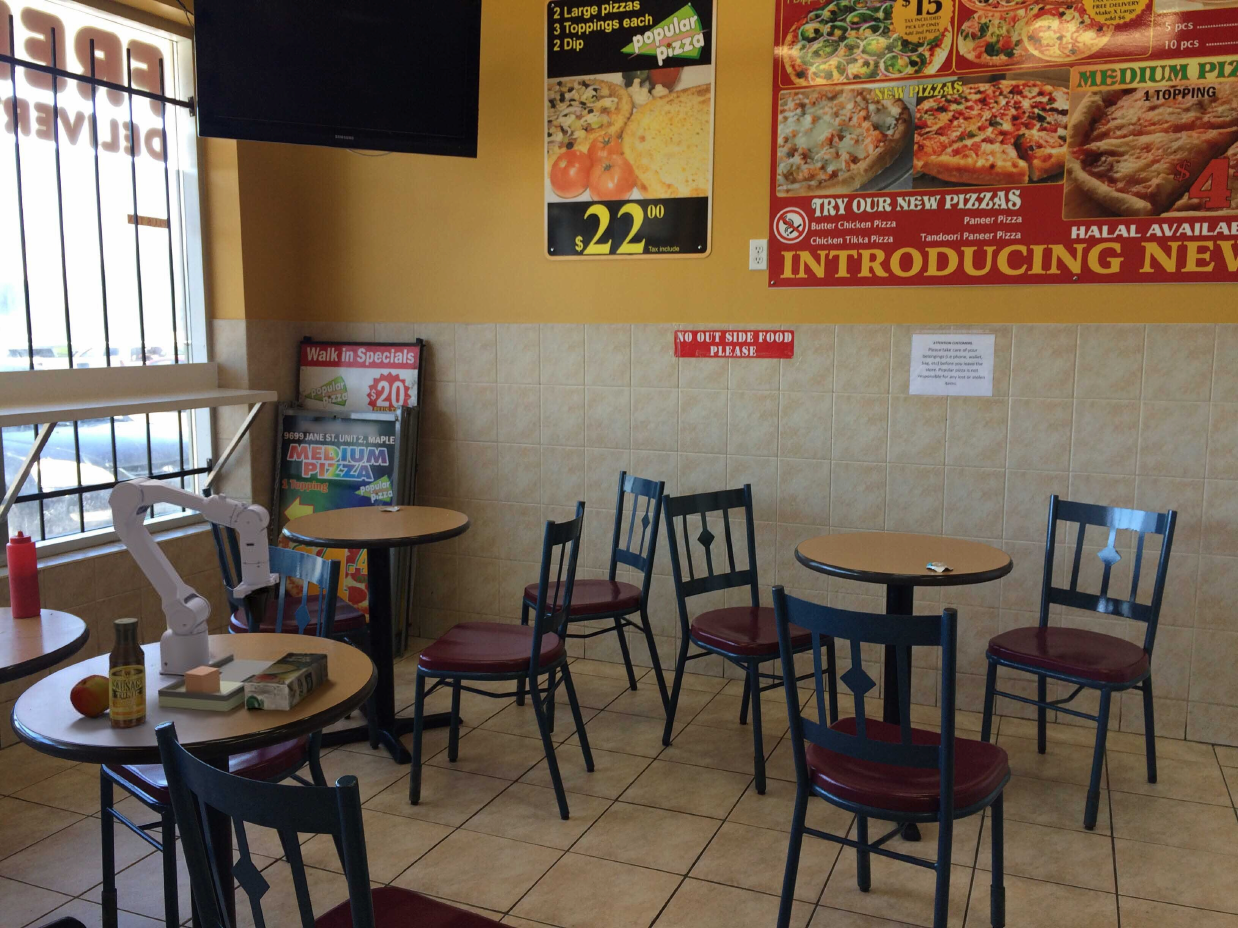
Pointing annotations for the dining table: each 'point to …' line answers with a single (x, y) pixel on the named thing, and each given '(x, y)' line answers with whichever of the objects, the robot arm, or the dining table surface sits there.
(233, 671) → the trap tray
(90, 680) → the apple
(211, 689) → the block
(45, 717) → the dining table surface
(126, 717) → the sauce bottle
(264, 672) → the juice carton
